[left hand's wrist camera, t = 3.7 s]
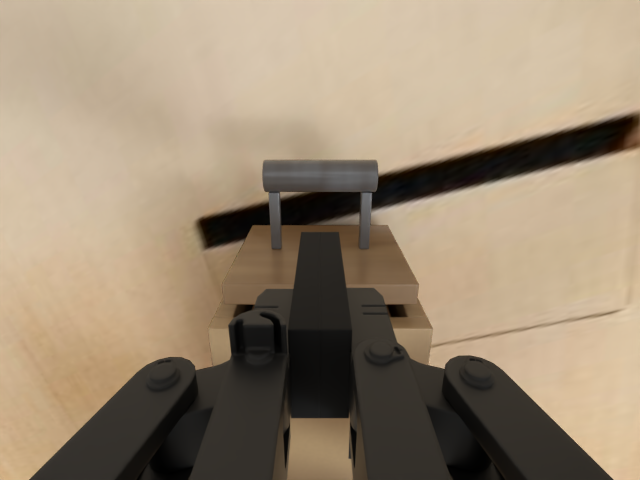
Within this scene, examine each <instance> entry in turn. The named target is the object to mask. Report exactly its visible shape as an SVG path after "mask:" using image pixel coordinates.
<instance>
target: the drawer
mask: <svg viewBox="0 0 640 480" xmlns="http://www.w3.org/2000/svg"><path fill="white" fill-rule="evenodd" d="M262 175H263V187H264V190H265V192H269V209H270V225H253V226H252V228H251V230H250V232H249V234H248V235H247V237H246V239H245V241H244V243H243V245H242V247H241V249H240V251H239V253H238V255H237V256H236V258H235V260H234V262H233V264H232V266H231V268H230V270H229V272H228V274H227V276H226V277H225V279H224V281H223V283H222V291H223V300H224V304H253V307H252V310H253V309H254V306H255V303H256V300H257V297H258V296H259V295H260V294H261V293H262V292H263V291H264V290H266V289H293V288H294V281H295V274H296V266H297V259H298V252H299V245H300V237H301V232H339V237H340V245H341V252H342V259H343V266H344V274H345V281H346V288H375V289H376V290H377V291H378V292H379V293H380V294H381V295H382V296H383V298H384V302H385V305H386V308H387V311H388V315H389V317H391V314H390V311H389V308H388V305H387V304H417V297H418V288H419V284H418V282H417V280H416V278H415V276H414V274H413V272H412V270H411V269H410V267H409V265H408V263H407V261H406V259H405V257H404V255H403V253H402V251H401V250H400V248H399V246H398V244H397V242H396V240H395V238H394V236H393V234H392V232H391V231H390V229H389V227H388V225H370V221H371V202H372V192H375V191H376V189H377V184H378V164H377V161H376V160H264V162H263V172H262ZM280 192H361V195H360V219H359V225H281V205H280Z"/></svg>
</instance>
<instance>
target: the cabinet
mask: <svg viewBox="0 0 640 480" xmlns="http://www.w3.org/2000/svg"><path fill="white" fill-rule="evenodd" d="M387 305H388V308H389V311H390V314H391V317H390V321H391V324H392V327H393V330H394V333H395V337H396V340H397V343H399V344H400V345H402V346H403V347H404V348H405V349H406V351H407V352H408V354H409V357H410V358H411V359H413V360H415V361H417V362H419V363H422V364H426V365H428V362H429V354H430V347H431V339H432V332H433V328H432V326H431V324H430V322H429V320H428V318H427V316H426V314H425V312H424V310H423V308H422V306H421V304H420V302H419V300H418V298H417V304H387ZM252 307H253V304H224V300H223V299H222V301H221V303H220V305H219V307H218V309H217V311H216V314H215V316H214V318H213V319H212V321H211V323H210V325H209V328H208V334H209V342H210V349H211V357H212V364H213V366H216V365H219V364H222V363H224V362H226V361H228V360H230V357H231V347H230V338H229V329H228V325H229V323H230V322H231V321H232V319H233V318H235V317H236V316H238V315H239V314H241V313H244V312H247V311H251V310H252ZM290 432H291V439H290V451H289V463H288V475H287V480H353V475H352V463H351V459H348V457H349V432H350V415H349V418H291V417H290Z"/></svg>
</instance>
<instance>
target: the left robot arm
mask: <svg viewBox="0 0 640 480" xmlns="http://www.w3.org/2000/svg"><path fill="white" fill-rule="evenodd" d="M228 329H229V338H230V347H231V357H230V360H228V361H226V362H224V363H222V364H219V365H216V366H213V367H209V368H204V369H200V370H195V366H194V365H193V364H192V362H191V361H190V360H187V359H184V358H182V357H168V358H164V359H159V360H157V361H154V362H152V363H150V364H148V365H146V366H145V367H143V368H142V369H141V370H140V371H138V372H137V373H136V374H135V375H134V376H133V377H132V378H131V379H130V380H129V381H128V382H127V383H126V384H125V385H124V386H123V387H122V388H121V389H120V390H119V391H118V392H117V393H116V394H115V395H114V396H113V397H112V398H111V399H110V400H109V401H108V402H107V403H106V404H105V405H104V406H103V407H102V408H101V409H100V410H99V411H98V412H97V413H96V414H95V415H94V416H93V417H92V418H91V419H90V420H89V421H88V422H87V423H86V424H85V425H84V426H83V427H82V428H81V429H80V430H79V431H78V432H77V433H76V434H75V435H74V436H73V437H72V438H71V439H70V440H69V441H68V442H67V443H66V444H65V445H64V446H63V447H62V448H61V449H60V450H59V451H58V452H57V453H56V454H55V455H54V456H53V457H52V458H51V459H50V460H49V461H48V462H47V463H46V464H45V465H44V466H43V467H42V468H41V469H40V470H39V471H38V472H37V473H36V474H35V475H34V476H33V477H32V478H31V479H30V480H287V475H288V463H289V451H290V439H291V432H290V417H291V418H349V415H350V432H349V457H348V459H351V463H352V475H353V480H613V479H612V478H611V477H610V476H609V475H608V474H607V473H606V472H605V471H604V470H603V469H602V468H601V467H600V466H599V465H598V464H597V463H596V462H595V461H594V460H593V459H592V458H591V457H590V456H589V455H588V454H587V453H586V452H585V451H584V450H583V449H582V448H581V447H580V446H579V445H578V444H577V443H576V442H575V441H574V440H573V439H572V438H571V437H570V436H569V435H568V434H567V433H566V432H565V431H564V430H563V429H562V428H561V427H560V426H559V425H558V424H557V423H556V422H555V421H554V420H552V419H551V418H550V417H549V416H548V415H547V414H546V413H545V412H544V411H543V410H542V409H541V408H540V407H539V406H538V405H537V404H536V403H535V402H534V401H533V400H532V399H531V398H530V397H529V396H528V395H527V394H526V393H525V392H524V391H523V390H522V389H521V388H520V387H519V386H518V385H517V384H516V383H515V382H514V381H513V380H512V379H511V378H510V377H509V376H508V375H507V374H506V373H505V372H504V371H503V370H502V369H500V368H499V367H498V366H496V365H495V364H494V363H492V362H489V361H487V360H485V359H483V358H479V357H474V356H457V357H454V358H452V359H450V360H449V361H448V362H447V363H446V365H445V369H442V368H438V367H434V366H429V365H426V364H422V363H419V362H417V361H415V360H413V359H411V358H410V357H409V354H408V352H407V351H406V349H405V348H404V347H403V346H402V345H400V344H399V343H397V340H396V337H395V333H394V330H393V327H392V324H391V321H390V317H389V315H388V311H387V308H386V305H385V302H384V298H383V296H382V295H381V294H380V293H379V292H378V291H377V290H376V289H375V288H346V281H345V274H344V266H343V259H342V252H341V245H340V237H339V232H301V237H300V245H299V252H298V259H297V266H296V274H295V281H294V288H293V289H266V290H264V291H263V292H262V293H261V294H260V295H259V296H258V297H257V300H256V303H255V306H254V309H253V310H251V311H247V312H244V313H241V314H239V315H238V316H236V317H235V318H233V319H232V321H231V322H230V323H229V325H228Z"/></svg>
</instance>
